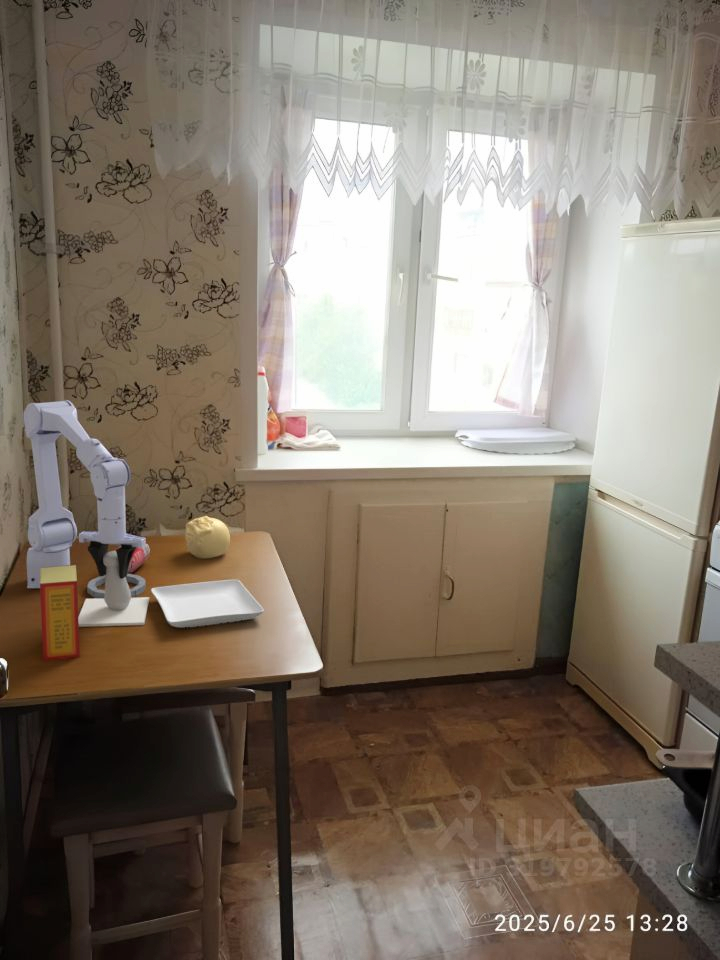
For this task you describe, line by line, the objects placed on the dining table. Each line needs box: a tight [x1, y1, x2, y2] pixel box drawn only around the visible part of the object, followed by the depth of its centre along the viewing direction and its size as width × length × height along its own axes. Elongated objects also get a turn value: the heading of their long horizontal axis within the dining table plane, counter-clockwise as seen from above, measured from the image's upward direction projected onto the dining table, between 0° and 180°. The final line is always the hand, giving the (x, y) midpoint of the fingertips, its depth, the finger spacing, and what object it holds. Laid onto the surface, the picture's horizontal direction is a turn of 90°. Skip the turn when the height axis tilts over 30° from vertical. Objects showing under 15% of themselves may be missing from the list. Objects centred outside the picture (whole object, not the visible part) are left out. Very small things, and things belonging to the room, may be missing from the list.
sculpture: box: [184, 515, 231, 559], centre depth 211 cm, size 12×12×11 cm
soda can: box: [114, 542, 151, 574], centre depth 197 cm, size 7×7×12 cm
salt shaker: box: [103, 550, 132, 611], centre depth 171 cm, size 6×6×13 cm
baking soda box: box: [39, 564, 81, 662], centre depth 152 cm, size 10×6×16 cm
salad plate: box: [150, 578, 265, 629], centre depth 175 cm, size 21×21×3 cm
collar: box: [86, 573, 147, 599], centre depth 185 cm, size 13×13×2 cm
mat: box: [78, 596, 150, 628], centre depth 172 cm, size 14×14×1 cm
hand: (113, 575), depth 170 cm, fingers closed on salt shaker, 4 cm apart
